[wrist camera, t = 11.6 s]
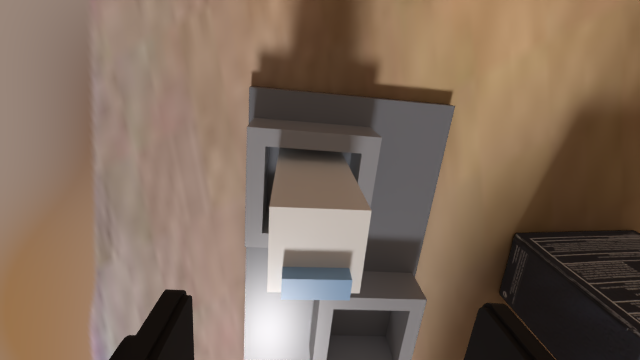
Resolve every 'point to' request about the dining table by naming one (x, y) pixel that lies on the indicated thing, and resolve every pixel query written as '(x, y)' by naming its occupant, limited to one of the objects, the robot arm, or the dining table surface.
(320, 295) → the plug
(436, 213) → the dining table surface
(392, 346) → the panel
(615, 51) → the dining table surface
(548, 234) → the small box
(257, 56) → the dining table surface
